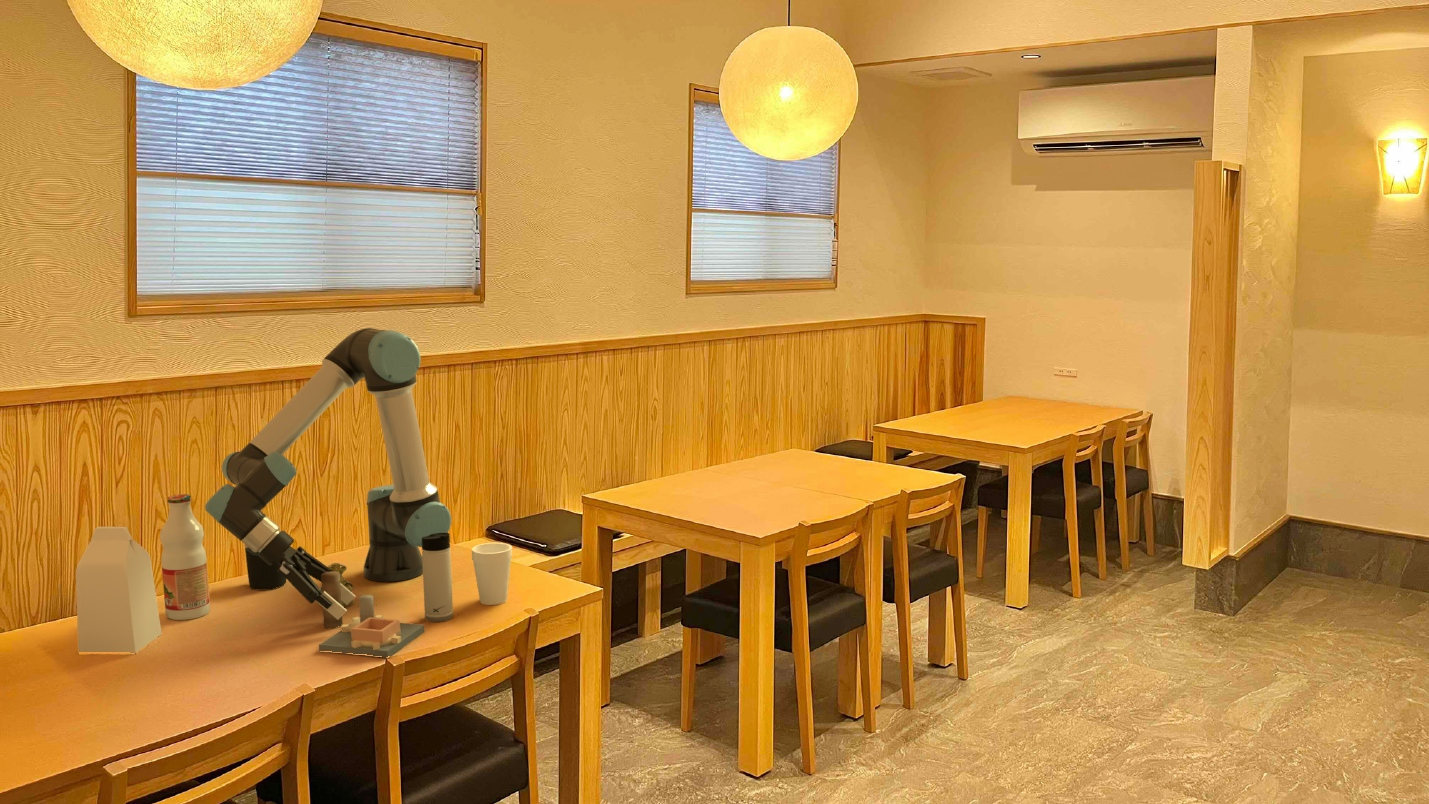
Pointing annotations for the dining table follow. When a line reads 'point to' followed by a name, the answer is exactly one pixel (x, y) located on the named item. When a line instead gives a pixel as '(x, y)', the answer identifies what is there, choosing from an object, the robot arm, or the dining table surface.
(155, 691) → the dining table surface
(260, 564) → the pen holder
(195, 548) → the fruit juice
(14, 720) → the dining table surface
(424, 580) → the travel mug
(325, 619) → the wooden dowel peg
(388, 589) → the dining table surface
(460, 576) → the dining table surface
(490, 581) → the foam cup
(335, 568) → the salt shaker
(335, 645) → the gear board
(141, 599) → the milk
